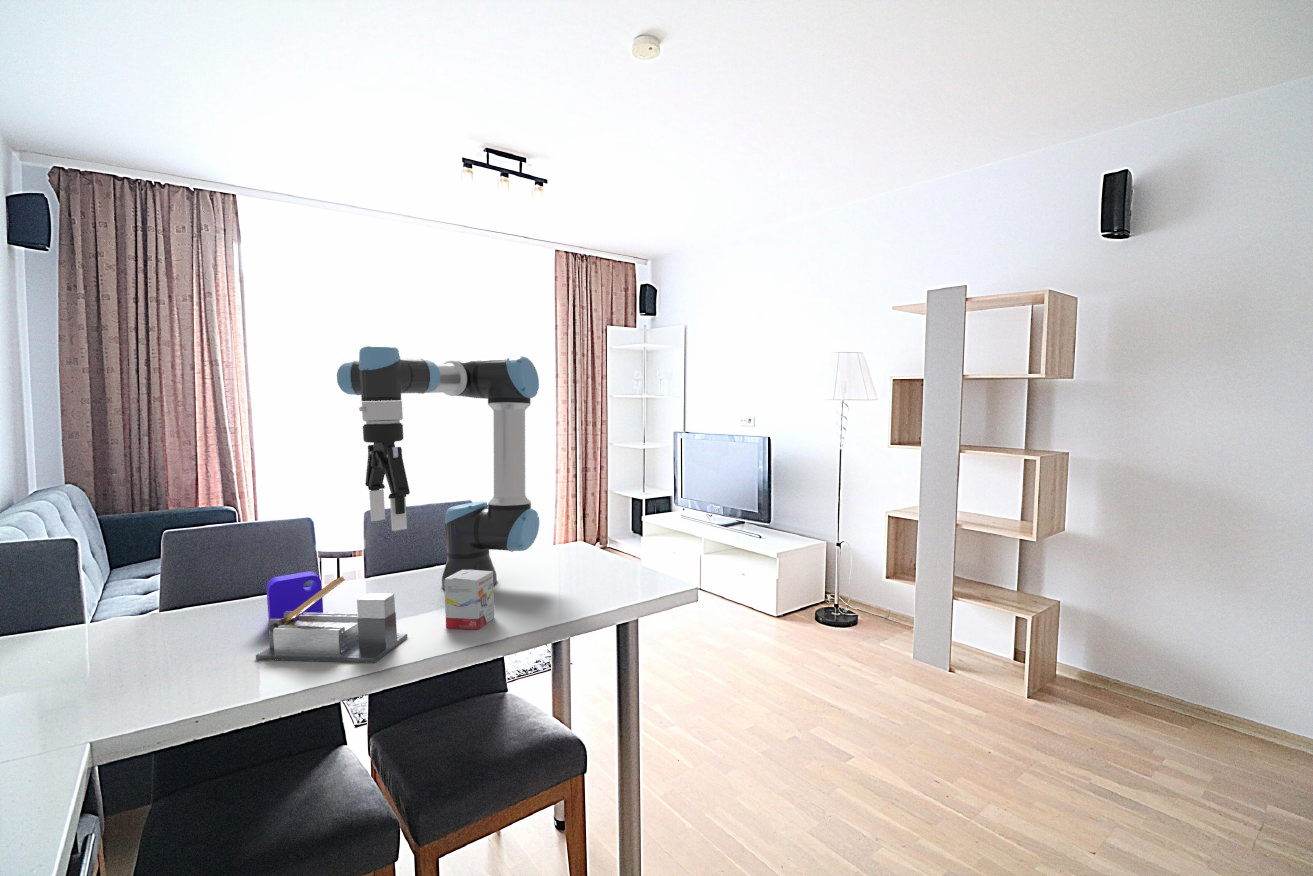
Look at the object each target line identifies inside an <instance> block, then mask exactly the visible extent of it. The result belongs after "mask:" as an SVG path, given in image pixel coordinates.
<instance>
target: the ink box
mask: <svg viewBox="0 0 1313 876" xmlns="http://www.w3.org/2000/svg"><path fill="white" fill-rule="evenodd" d="M444 585H445V589H444V604H445V613H444V614H445V628H446V629H453V630H454V629H456V630H477V631H478V630H480V629H481V628H482V627H484V626H485V625H487V623H489V622H491V621H492V620H493V619H495V603H494V602H495V601H494V600H495V599H494V597H495V596H494V595H495V594H494V584H493V571H480V570H461V571H459V572H457V573H455V574H453V575H451V576H449V577H447V578H445V580H444Z"/></svg>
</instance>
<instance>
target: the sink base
mask: <svg viewBox="0 0 1313 876" xmlns="http://www.w3.org/2000/svg"><path fill="white" fill-rule="evenodd" d="M291 612H292V611H286V612H284V617H286V616H287V615H288V614H290V613H291ZM396 615H397V613H396V611H395V612H394V613H393V614H391V615H390V616H388V617H387V618H385V619H376V618H358V612H357V613H354V612H347V613H346V612H323V613H303V615H299V620H298V621H297V617H295V618H294V619H293V620H292V622H291V623H290V624H289V625H282V619H270V620H268V621H267V622H268V635H269V638H268V639H269V647H268V648H266V649H264V650H262V651H261V652H259V653H257V654H255V660H257V661H283V662H285V661H288V662H292V661H293V662H322V663H323V662H327V663H330V662H331V663H362V664H363V663H364V664H365V663H366V664H369V663H370V664H375V663H377V662H379V661H380V660H381V659H382V658H383V657H384V656H386V655H387V654H388V653H390V652H391V651H392V650H394V649H395V648H396V647H397V646H399V645H400V644H401V643H403V642H404V641H405V640H407V639H408V633H403V632H402V633H397V631H398V629H397V616H396Z"/></svg>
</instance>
